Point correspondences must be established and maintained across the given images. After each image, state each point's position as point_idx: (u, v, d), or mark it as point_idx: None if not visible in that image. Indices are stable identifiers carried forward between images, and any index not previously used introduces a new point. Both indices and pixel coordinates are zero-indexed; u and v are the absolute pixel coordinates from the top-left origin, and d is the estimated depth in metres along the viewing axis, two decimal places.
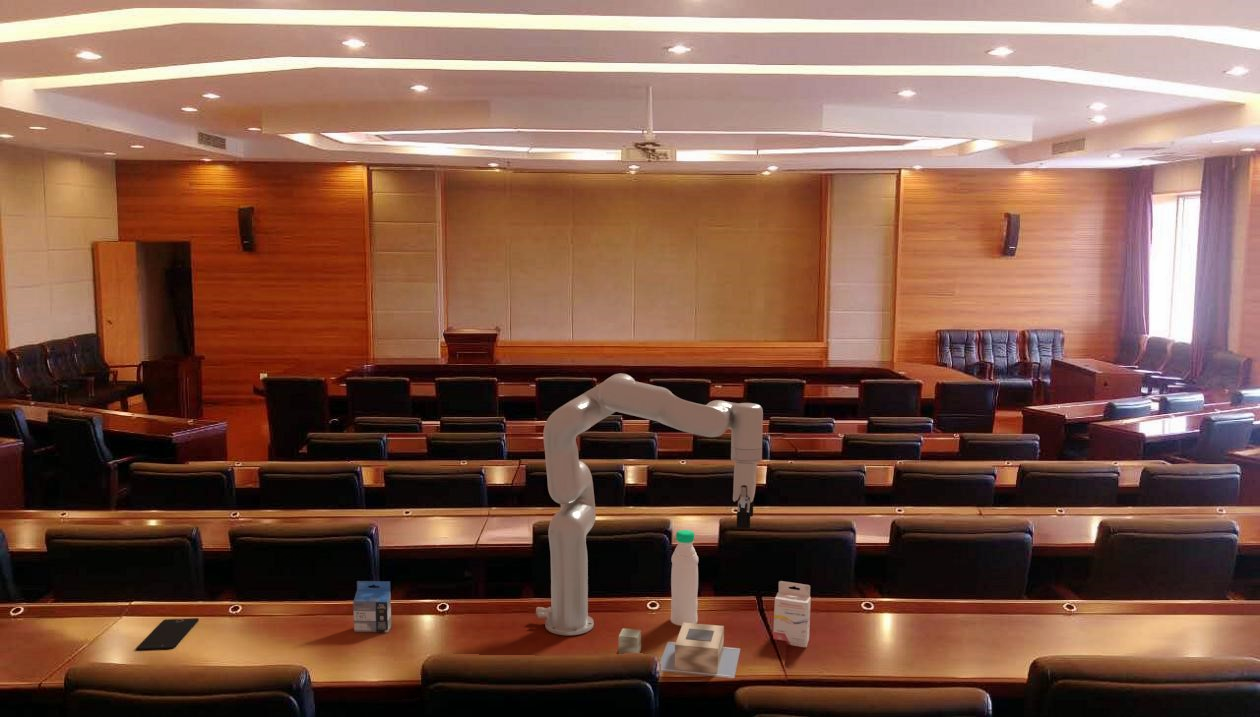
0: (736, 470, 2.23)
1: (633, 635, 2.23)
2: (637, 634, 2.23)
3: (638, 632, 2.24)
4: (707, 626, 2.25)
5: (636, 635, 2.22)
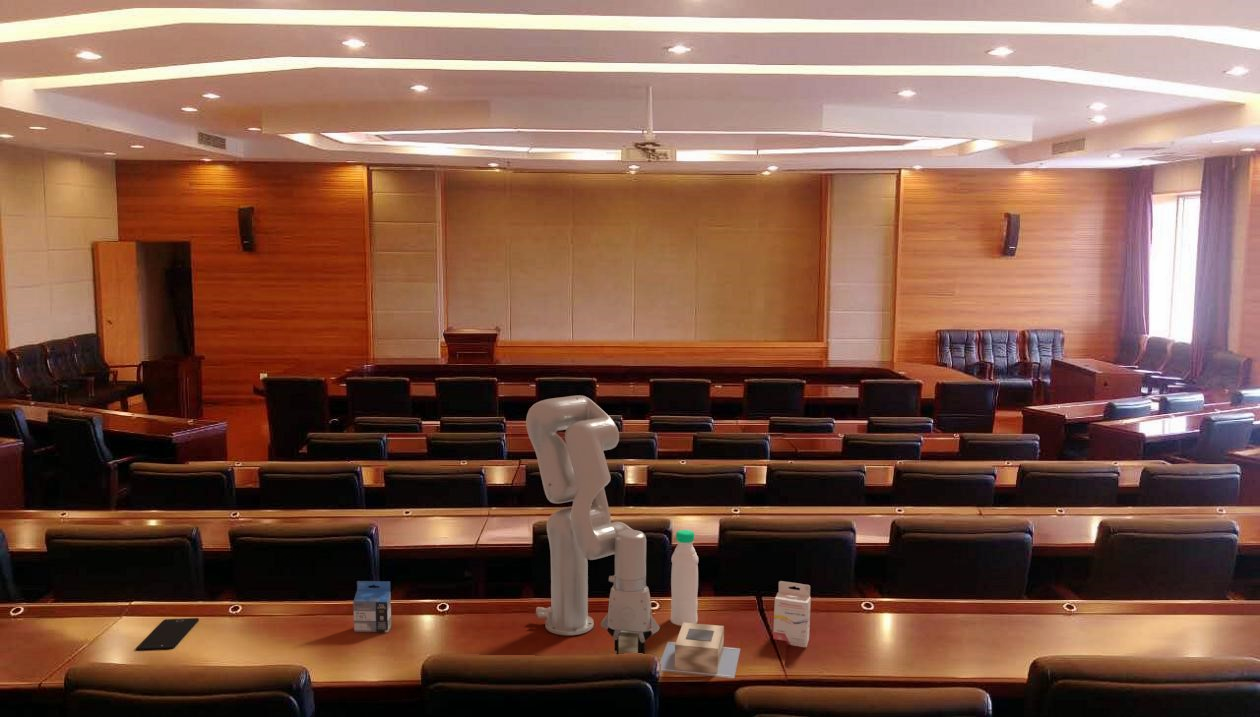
0: (647, 599, 2.20)
1: (633, 635, 2.23)
2: (637, 634, 2.23)
3: None
4: (707, 626, 2.25)
5: (636, 635, 2.22)
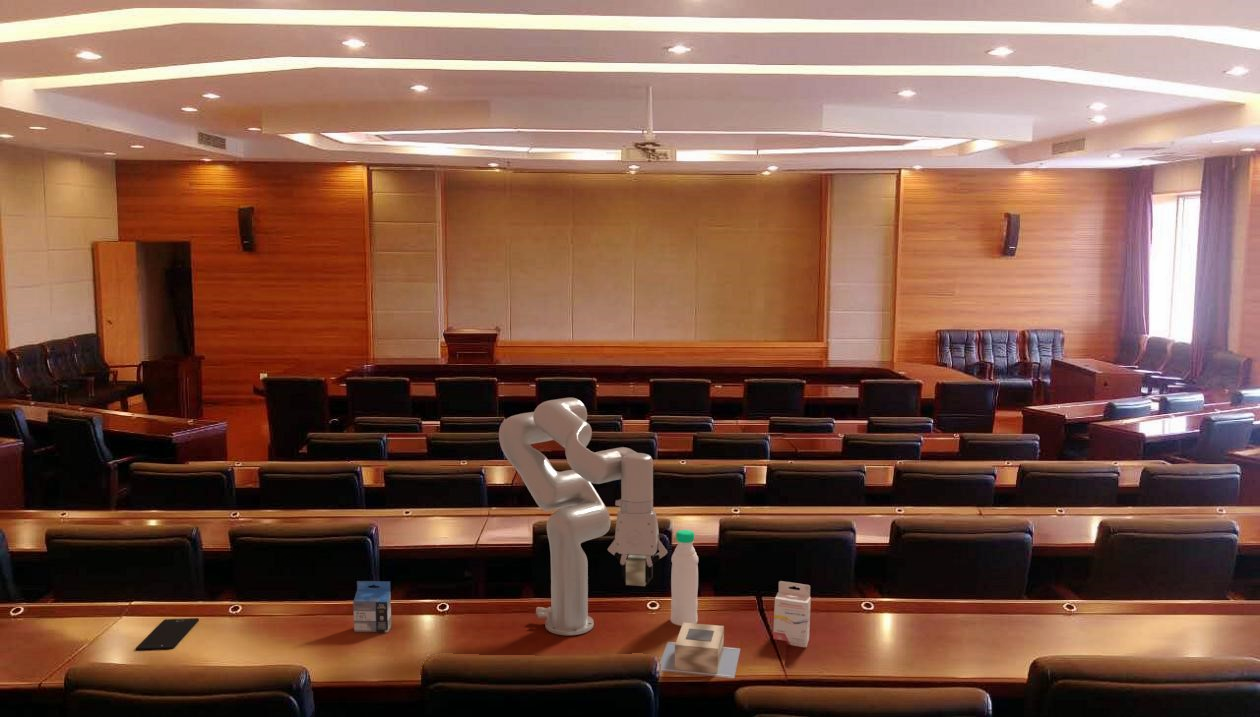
0: (654, 522, 2.17)
1: (640, 559, 2.20)
2: (644, 559, 2.20)
3: (645, 557, 2.21)
4: (707, 626, 2.25)
5: (644, 560, 2.19)
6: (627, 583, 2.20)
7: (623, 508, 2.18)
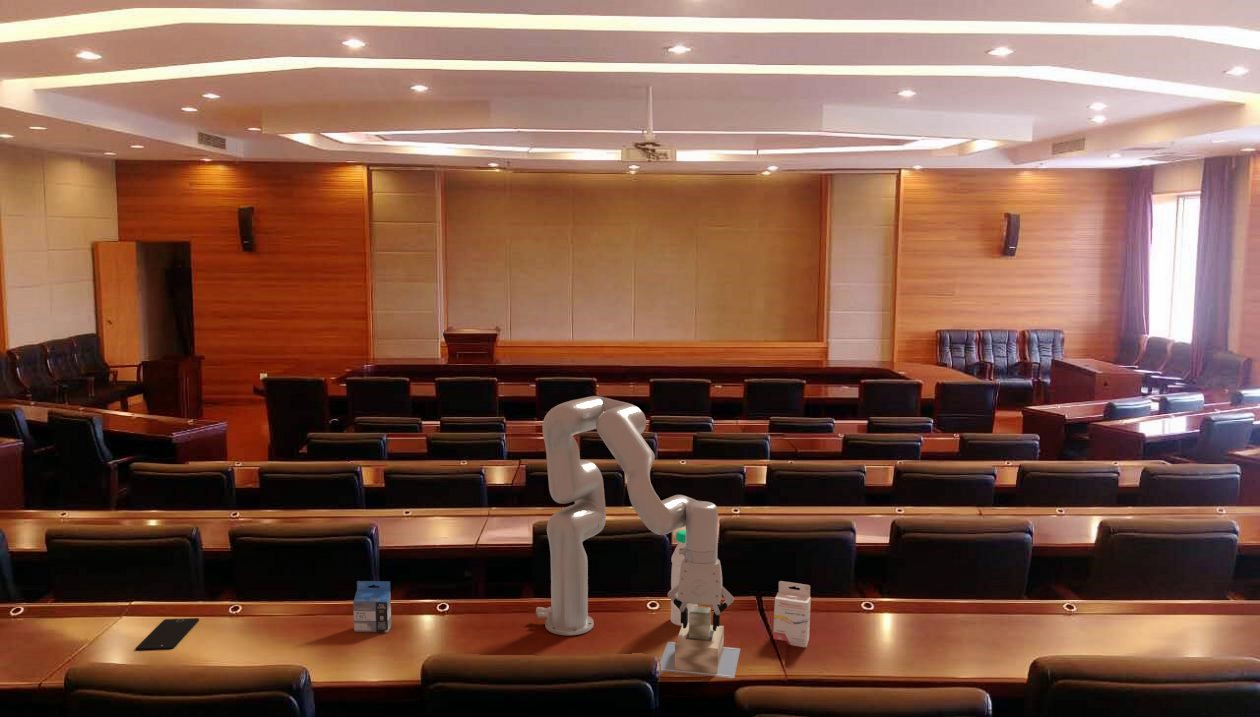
0: (719, 572, 2.16)
1: (704, 612, 2.18)
2: (708, 612, 2.19)
3: (708, 610, 2.20)
4: None
5: (707, 613, 2.18)
6: (690, 636, 2.18)
7: (688, 557, 2.16)
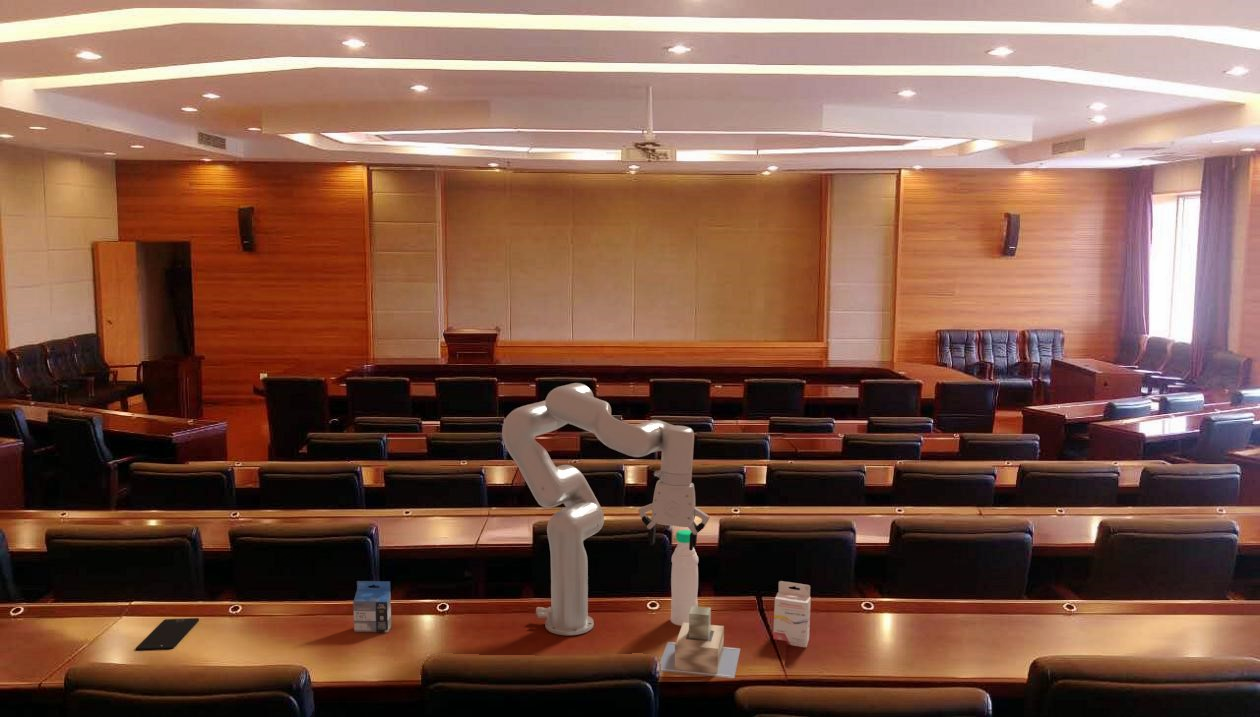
0: (692, 494, 2.20)
1: (704, 612, 2.18)
2: (708, 612, 2.19)
3: (708, 610, 2.20)
4: None
5: (707, 613, 2.18)
6: (690, 636, 2.18)
7: (662, 479, 2.20)
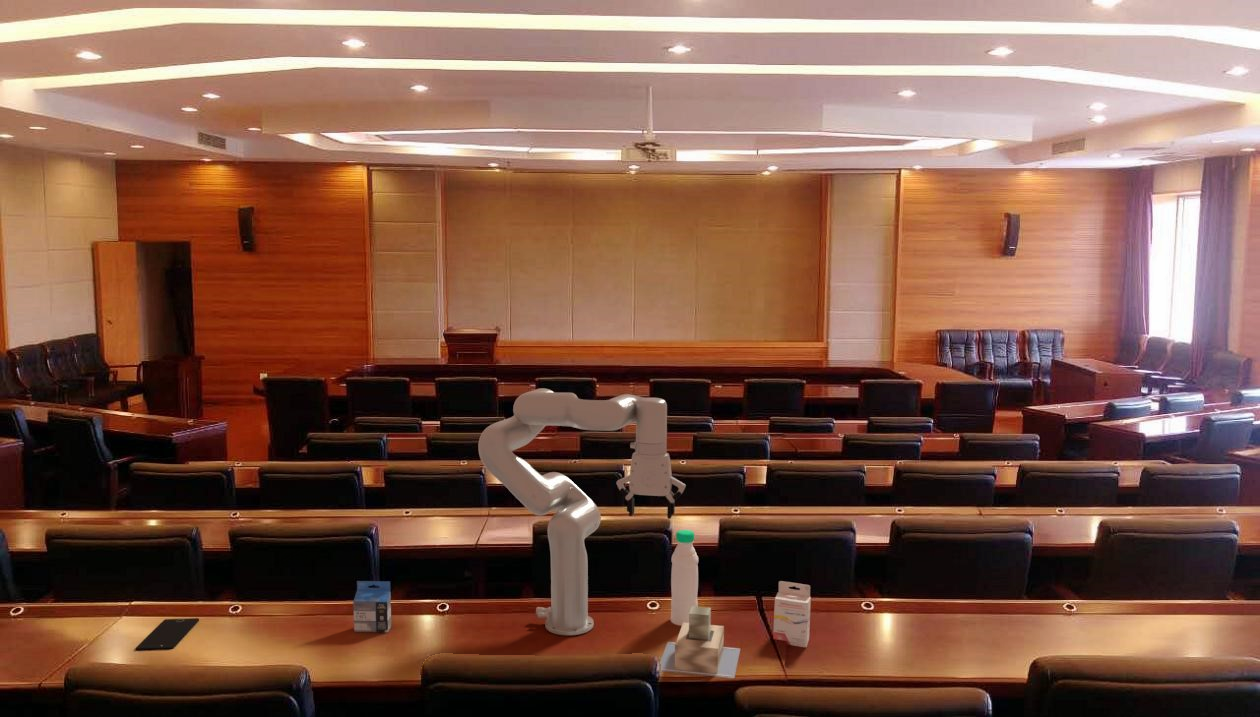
0: (667, 463, 2.25)
1: (704, 612, 2.18)
2: (708, 612, 2.19)
3: (708, 610, 2.20)
4: None
5: (707, 613, 2.18)
6: (690, 636, 2.18)
7: (638, 450, 2.26)
